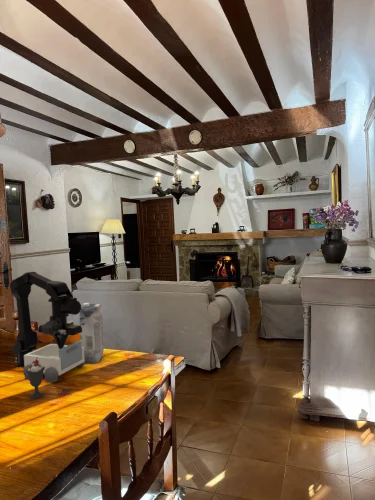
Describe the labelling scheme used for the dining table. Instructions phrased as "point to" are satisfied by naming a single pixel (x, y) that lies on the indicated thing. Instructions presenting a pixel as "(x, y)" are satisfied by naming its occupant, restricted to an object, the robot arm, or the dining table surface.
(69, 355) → the panel
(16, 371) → the dining table surface
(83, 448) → the dining table surface
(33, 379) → the sundae
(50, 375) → the cart
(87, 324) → the juice carton
